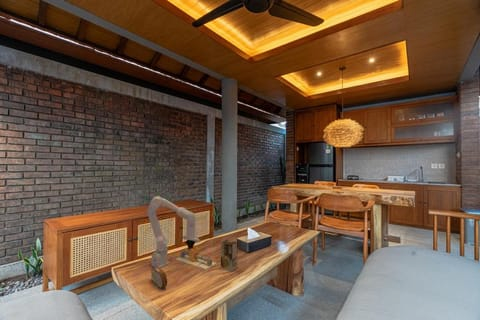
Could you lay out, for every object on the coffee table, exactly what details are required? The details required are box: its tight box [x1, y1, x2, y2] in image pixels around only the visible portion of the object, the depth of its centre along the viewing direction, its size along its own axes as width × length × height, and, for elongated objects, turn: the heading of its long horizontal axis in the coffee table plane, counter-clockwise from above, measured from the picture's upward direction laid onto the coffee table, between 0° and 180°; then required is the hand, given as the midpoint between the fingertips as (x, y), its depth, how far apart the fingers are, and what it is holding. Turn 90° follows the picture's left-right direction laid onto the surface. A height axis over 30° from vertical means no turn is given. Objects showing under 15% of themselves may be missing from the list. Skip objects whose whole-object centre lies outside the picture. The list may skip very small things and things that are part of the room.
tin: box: [150, 266, 168, 289], centre depth 119 cm, size 15×3×8 cm, turn 44°
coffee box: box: [220, 239, 239, 272], centre depth 141 cm, size 9×6×16 cm
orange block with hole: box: [188, 246, 200, 261], centre depth 149 cm, size 4×5×7 cm
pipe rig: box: [175, 249, 217, 271], centre depth 148 cm, size 27×10×6 cm, turn 58°
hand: (190, 251), depth 150 cm, fingers closed
